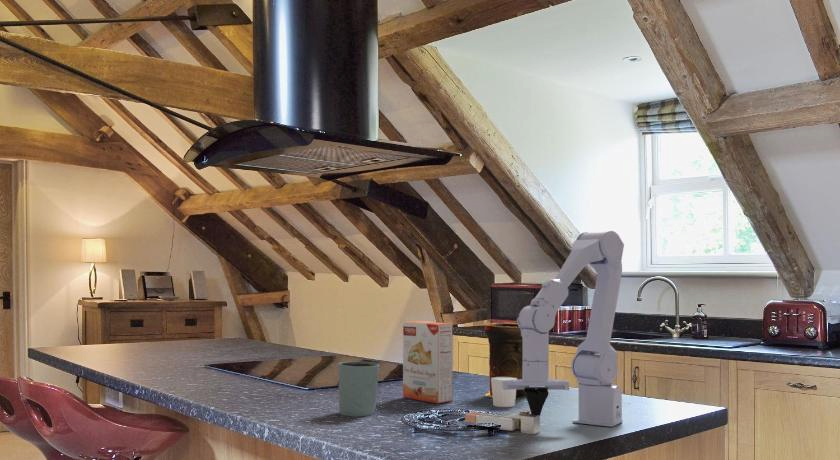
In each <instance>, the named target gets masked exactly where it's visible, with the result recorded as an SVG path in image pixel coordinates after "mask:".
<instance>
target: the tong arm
mask: <svg viewBox="0 0 840 460" xmlns="http://www.w3.org/2000/svg"><path fill="white" fill-rule="evenodd" d="M469 414H477V415H485V416H493V417H502V418H511V417H510V416H505V415H502V414H501V415H500V414H490V413H485V412H484V413H483V412H475V411H472V412H470V413H469ZM511 419H514V430H518V429H520V428H519V418H511Z"/></svg>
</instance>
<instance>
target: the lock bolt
mask: <svg viewBox="0 0 840 460" xmlns="http://www.w3.org/2000/svg"><path fill="white" fill-rule="evenodd" d="M520 412H527V413H528V414H531V411H530V410H521V411H520ZM520 412H519V413H520ZM510 415H511V414H506V415H504V416H510ZM519 429H521V419H519Z"/></svg>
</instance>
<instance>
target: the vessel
mask: <svg viewBox="0 0 840 460" xmlns="http://www.w3.org/2000/svg"><path fill="white" fill-rule="evenodd" d="M483 330H484V333H485V335H486V337H487V341H488V344H489V345H488V346H489V355H488V358H489V360H488V364H489V365H488V366H489V375H488V376H489V390H488V393H485V397H490V398H493V395H492V384H491V378H493V377H513V378H517V379H523V338H522V336H521V329H520V328H519V326H518V324H517V323H516V322H500V323H499V322H492V323H487V324H485V326H484V329H483ZM522 387H523V386H522ZM528 387H530V386H528ZM523 399H524V400H525V399H526V396H525V394H524V392H523V389H516V398H515V400H523ZM526 400H527V399H526Z"/></svg>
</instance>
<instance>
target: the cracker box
mask: <svg viewBox="0 0 840 460" xmlns="http://www.w3.org/2000/svg"><path fill="white" fill-rule="evenodd" d="M402 324H403V326H402V328H403V329H402V334H403V335H402V336H403V337H402V338H403V339H402V341H403V343H402V344H403V345H402V347H403V348H402V397H403V398H406V399H410V400H411V399H412V400H417V401H423V402H428V403H432V404H439V405H440V404H445V403H449V402H450V403H451V402H453V385H454V383H453V380H454V379H453V373H454V372H453V370H454V369H453V367H454V365H453V363H454V362H453V357H454V356H453V355H454V354H453V351H454V350H453V349H454V347H453V346H454V345H453V341H454V340H453V339H454V338H453V336H454V332H453V329H454V325H453V323H447V322H438V321H437V322H436V321H425V320H407V321H403V322H402Z"/></svg>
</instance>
